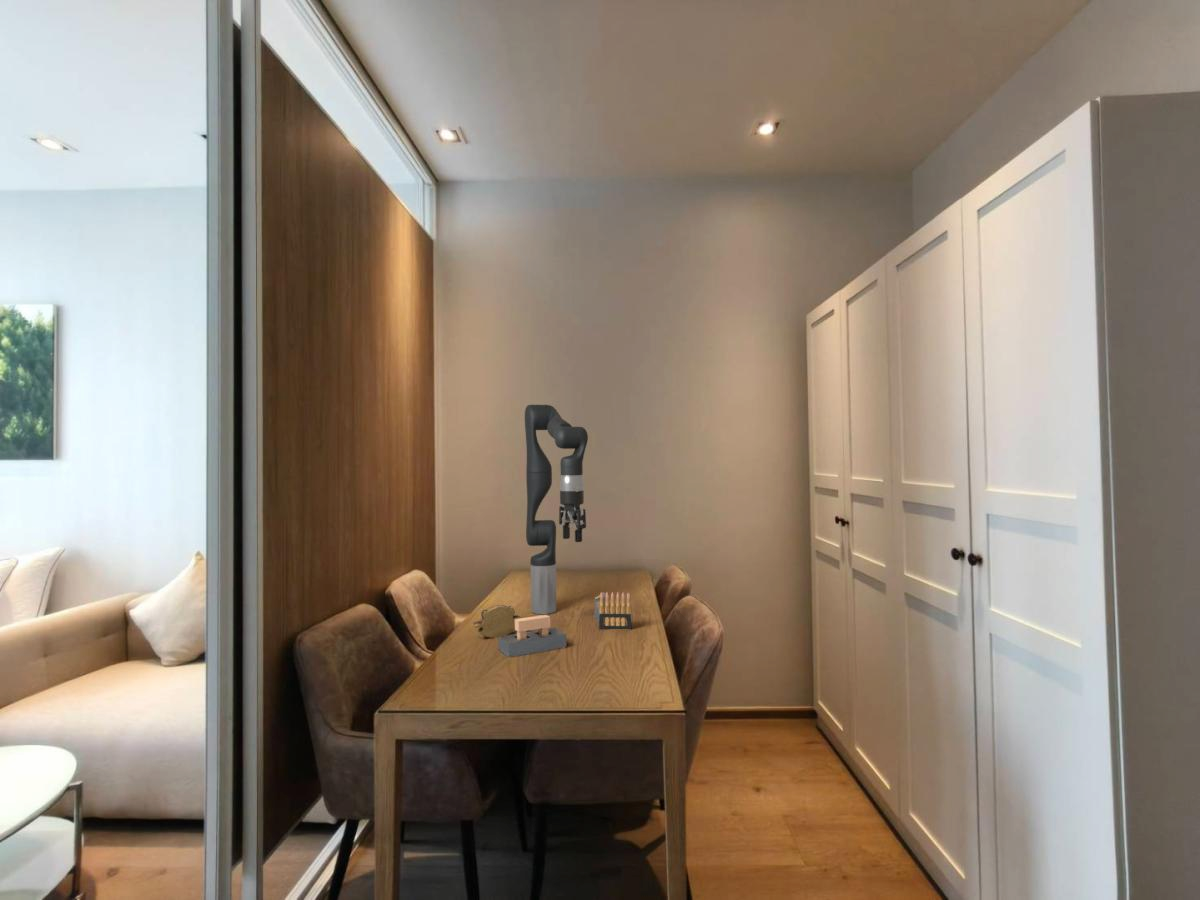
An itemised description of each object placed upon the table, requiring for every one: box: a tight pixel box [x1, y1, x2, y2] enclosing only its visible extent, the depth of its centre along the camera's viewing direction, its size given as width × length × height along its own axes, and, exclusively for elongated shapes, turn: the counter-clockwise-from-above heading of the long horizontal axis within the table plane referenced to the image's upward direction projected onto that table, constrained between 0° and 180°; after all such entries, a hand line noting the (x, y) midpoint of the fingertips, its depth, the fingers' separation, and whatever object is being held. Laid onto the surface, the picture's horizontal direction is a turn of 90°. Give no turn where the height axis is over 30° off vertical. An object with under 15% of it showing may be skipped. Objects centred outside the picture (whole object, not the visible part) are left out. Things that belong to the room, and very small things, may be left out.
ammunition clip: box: [598, 591, 633, 630], centre depth 209 cm, size 11×2×12 cm, turn 84°
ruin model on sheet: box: [593, 592, 607, 621], centre depth 224 cm, size 11×3×10 cm, turn 168°
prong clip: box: [515, 614, 551, 639], centre depth 188 cm, size 3×10×8 cm, turn 120°
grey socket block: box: [498, 627, 567, 658], centre depth 188 cm, size 8×18×4 cm, turn 120°
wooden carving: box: [473, 604, 523, 639], centre depth 201 cm, size 16×5×10 cm, turn 123°
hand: (572, 540), depth 204 cm, fingers open, 8 cm apart
